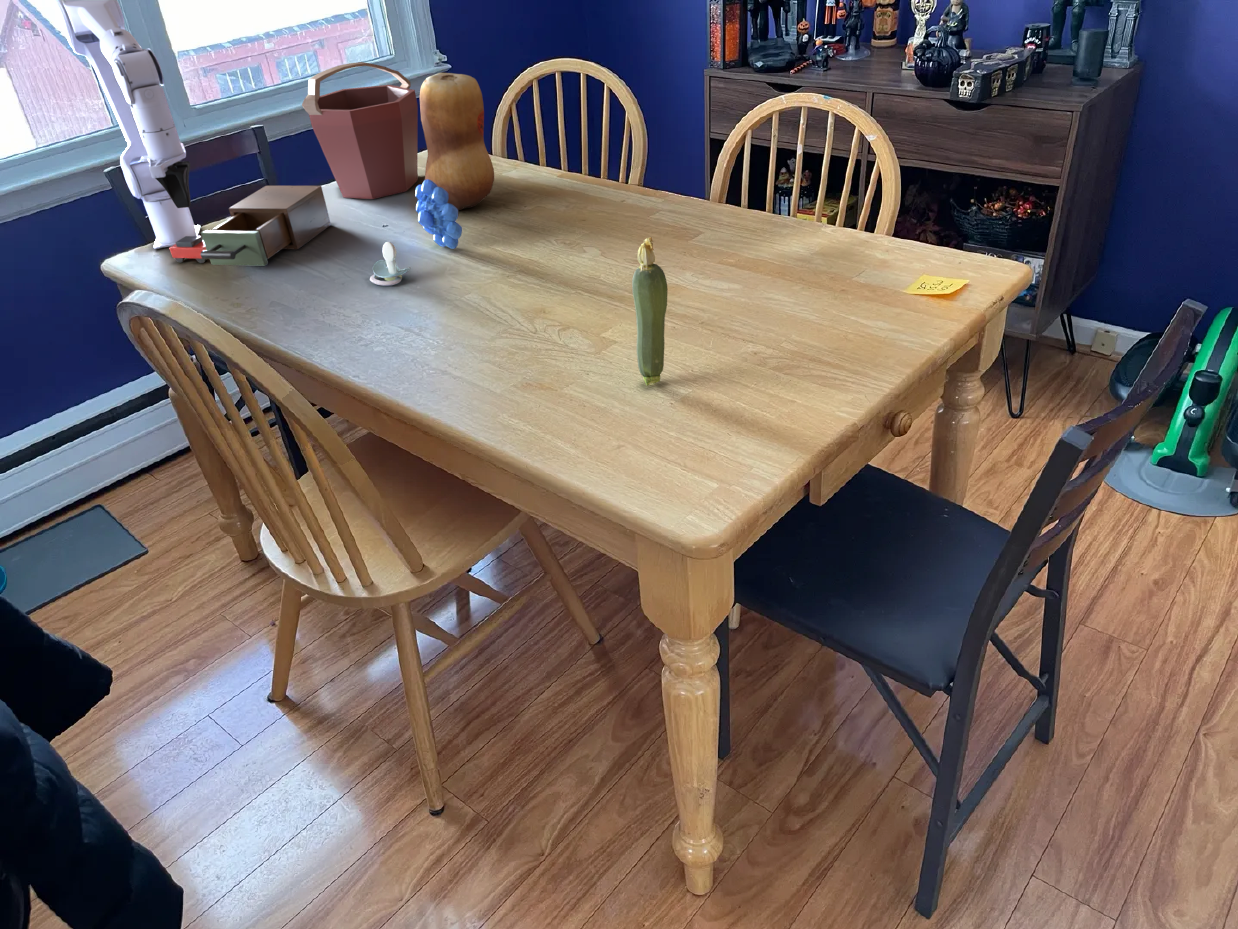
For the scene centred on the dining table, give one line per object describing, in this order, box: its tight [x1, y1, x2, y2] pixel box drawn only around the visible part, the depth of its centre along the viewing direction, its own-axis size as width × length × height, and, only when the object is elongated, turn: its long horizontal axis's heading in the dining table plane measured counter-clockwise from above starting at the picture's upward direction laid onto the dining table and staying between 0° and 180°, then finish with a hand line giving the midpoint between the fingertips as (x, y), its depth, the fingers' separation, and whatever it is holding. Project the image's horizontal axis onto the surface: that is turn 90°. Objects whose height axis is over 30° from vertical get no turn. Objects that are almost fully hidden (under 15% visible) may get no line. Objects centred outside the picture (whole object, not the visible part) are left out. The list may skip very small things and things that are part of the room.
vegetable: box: [631, 236, 669, 387], centre depth 115 cm, size 4×4×20 cm
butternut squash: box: [419, 72, 495, 211], centre depth 179 cm, size 14×13×25 cm
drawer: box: [200, 212, 292, 267], centre depth 166 cm, size 17×11×6 cm, turn 167°
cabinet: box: [228, 185, 332, 250], centre depth 177 cm, size 13×12×8 cm
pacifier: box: [369, 241, 412, 286], centre depth 155 cm, size 7×6×6 cm
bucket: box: [301, 61, 419, 200], centre depth 195 cm, size 24×22×25 cm
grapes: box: [414, 179, 463, 250], centre depth 164 cm, size 12×7×12 cm, turn 45°
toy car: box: [168, 235, 208, 264], centre depth 171 cm, size 7×4×4 cm, turn 77°
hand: (184, 206), depth 165 cm, fingers closed
